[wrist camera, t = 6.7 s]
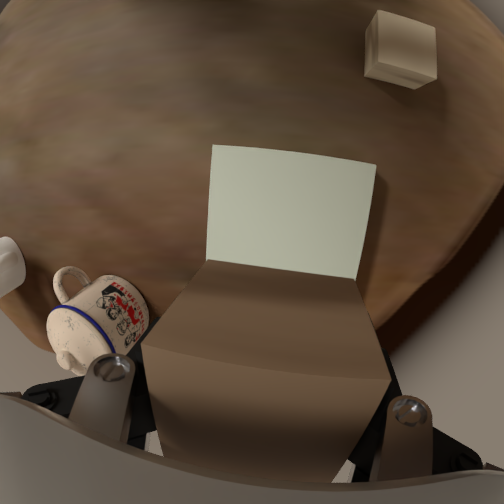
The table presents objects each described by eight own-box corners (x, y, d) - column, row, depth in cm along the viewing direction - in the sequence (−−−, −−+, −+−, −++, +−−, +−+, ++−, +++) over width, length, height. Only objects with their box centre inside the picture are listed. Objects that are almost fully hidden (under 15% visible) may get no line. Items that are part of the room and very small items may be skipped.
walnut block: (208, 259, 10) (140, 343, 5) (354, 278, 10) (391, 379, 5) (205, 369, 12) (165, 463, 7) (323, 386, 11) (326, 488, 7)
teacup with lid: (166, 328, 33) (119, 396, 22) (116, 344, 35) (68, 400, 24) (113, 237, 30) (40, 279, 19) (68, 266, 32) (4, 307, 21)
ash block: (365, 31, 20) (377, 9, 15) (414, 44, 19) (435, 27, 15) (363, 76, 21) (378, 61, 17) (414, 89, 21) (436, 79, 16)
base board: (221, 145, 25) (212, 144, 22) (367, 163, 24) (376, 164, 21) (213, 279, 30) (205, 292, 27) (343, 296, 28) (347, 312, 25)
